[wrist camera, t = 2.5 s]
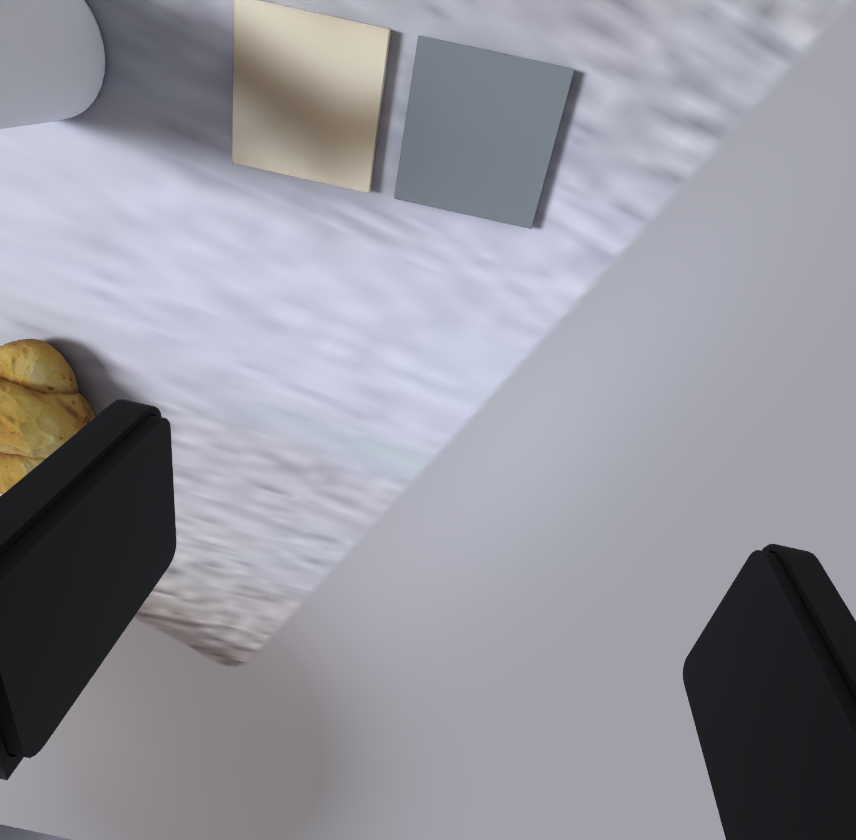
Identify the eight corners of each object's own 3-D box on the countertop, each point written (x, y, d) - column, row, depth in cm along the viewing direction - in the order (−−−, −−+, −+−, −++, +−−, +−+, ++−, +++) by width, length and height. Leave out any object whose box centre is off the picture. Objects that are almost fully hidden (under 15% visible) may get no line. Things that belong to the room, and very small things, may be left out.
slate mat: (419, 35, 31) (418, 35, 31) (573, 69, 31) (574, 69, 30) (395, 196, 35) (394, 198, 35) (530, 226, 35) (531, 228, 35)
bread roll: (7, 304, 42) (-90, 352, 35) (137, 378, 44) (68, 438, 37) (-25, 430, 49) (-113, 491, 42) (89, 490, 50) (23, 558, 44)
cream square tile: (238, -4, 31) (234, -5, 31) (391, 29, 31) (389, 29, 31) (236, 161, 35) (232, 162, 35) (370, 190, 35) (368, 192, 35)
